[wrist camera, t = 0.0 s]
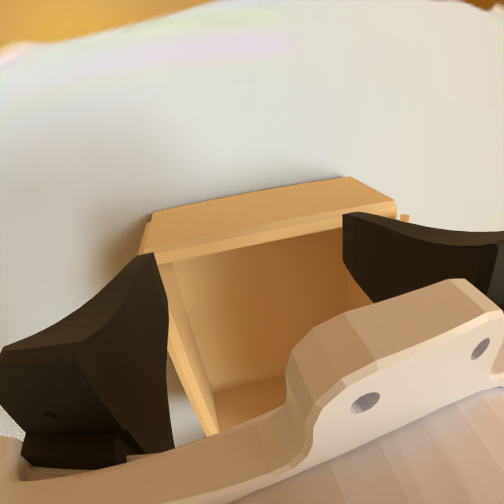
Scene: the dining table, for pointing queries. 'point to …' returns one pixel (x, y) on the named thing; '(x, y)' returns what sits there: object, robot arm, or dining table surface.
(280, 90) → the dining table surface
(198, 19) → the dining table surface
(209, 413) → the carton
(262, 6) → the dining table surface
